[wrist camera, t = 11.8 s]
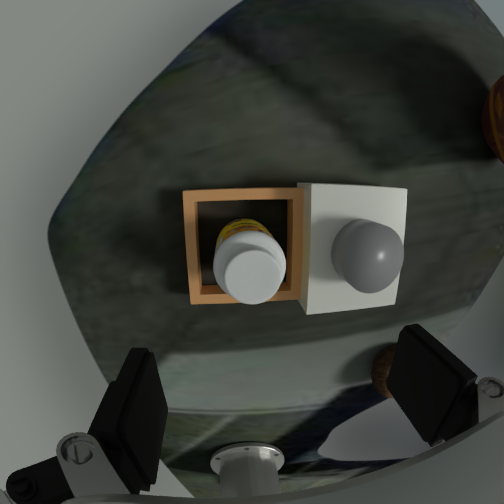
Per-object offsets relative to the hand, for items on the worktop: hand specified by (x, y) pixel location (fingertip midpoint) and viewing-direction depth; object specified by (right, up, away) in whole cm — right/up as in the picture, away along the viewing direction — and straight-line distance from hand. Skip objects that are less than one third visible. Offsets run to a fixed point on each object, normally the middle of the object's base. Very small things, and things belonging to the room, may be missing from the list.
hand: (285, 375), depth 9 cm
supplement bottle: (-2, +5, +20) cm, 21 cm away
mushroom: (+19, -11, +26) cm, 34 cm away
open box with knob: (+3, +6, +20) cm, 21 cm away
